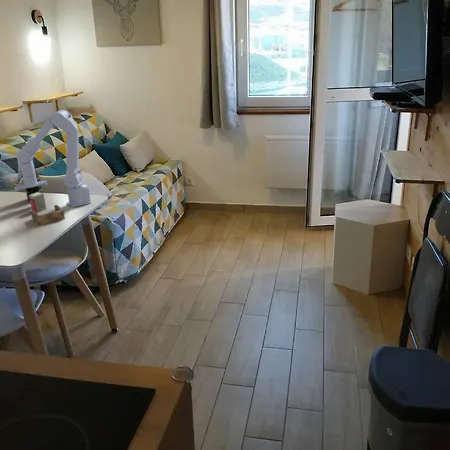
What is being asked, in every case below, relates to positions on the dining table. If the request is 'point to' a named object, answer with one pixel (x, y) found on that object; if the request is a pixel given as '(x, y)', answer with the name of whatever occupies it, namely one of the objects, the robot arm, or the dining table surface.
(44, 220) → the walnut shelf bay
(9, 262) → the dining table surface
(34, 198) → the small box
